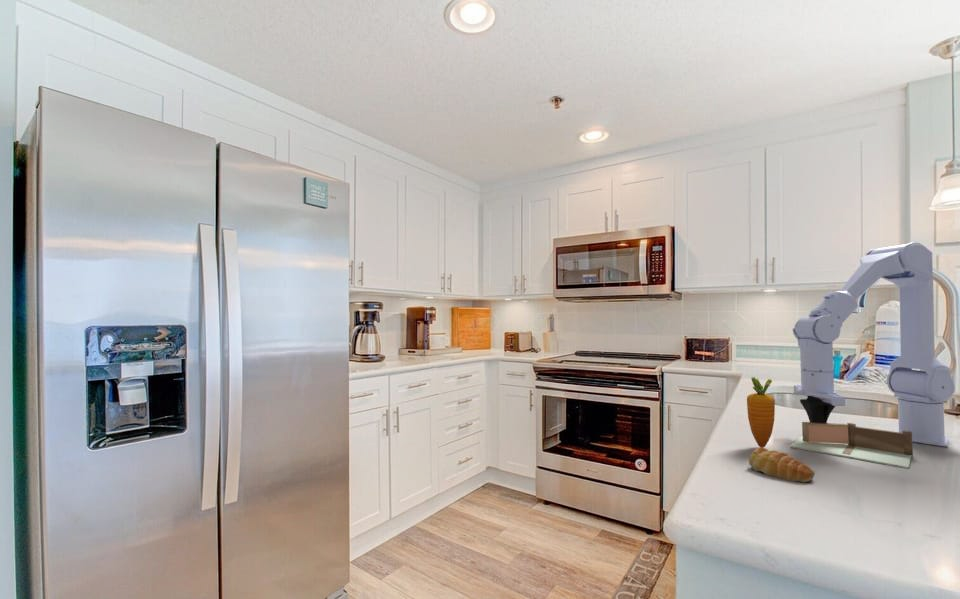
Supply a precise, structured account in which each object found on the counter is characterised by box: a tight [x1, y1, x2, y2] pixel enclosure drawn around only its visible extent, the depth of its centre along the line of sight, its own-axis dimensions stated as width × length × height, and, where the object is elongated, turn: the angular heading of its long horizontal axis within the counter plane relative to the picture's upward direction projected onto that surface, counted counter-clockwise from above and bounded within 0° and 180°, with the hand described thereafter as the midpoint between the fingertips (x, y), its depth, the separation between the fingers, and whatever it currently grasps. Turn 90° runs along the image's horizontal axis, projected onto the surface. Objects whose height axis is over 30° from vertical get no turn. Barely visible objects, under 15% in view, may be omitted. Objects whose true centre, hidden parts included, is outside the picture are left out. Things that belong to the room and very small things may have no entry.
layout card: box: [789, 435, 913, 470], centre depth 91 cm, size 14×18×1 cm
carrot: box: [746, 376, 776, 448], centre depth 92 cm, size 5×5×15 cm
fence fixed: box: [846, 422, 914, 456], centre depth 90 cm, size 1×10×4 cm, turn 43°
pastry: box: [748, 446, 815, 483], centre depth 77 cm, size 9×7×4 cm
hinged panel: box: [801, 421, 849, 444], centre depth 94 cm, size 1×8×4 cm, turn 77°
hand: (818, 432), depth 96 cm, fingers closed
